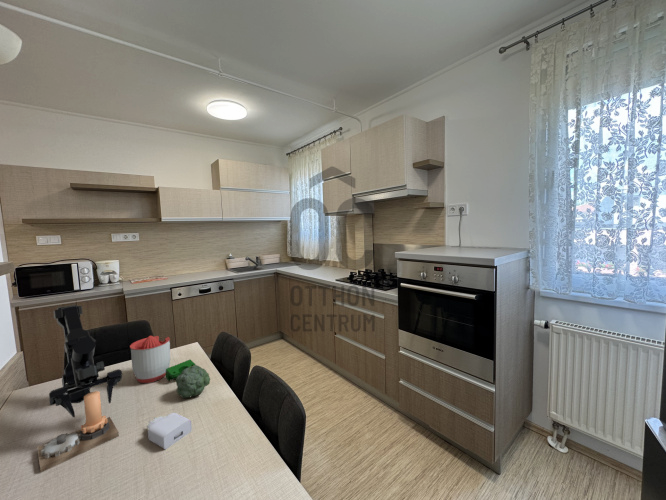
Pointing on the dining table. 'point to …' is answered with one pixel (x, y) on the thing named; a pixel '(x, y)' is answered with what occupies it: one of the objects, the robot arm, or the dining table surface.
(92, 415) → the gear spindle
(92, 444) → the gear board
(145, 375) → the citrus juicer
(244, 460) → the dining table surface
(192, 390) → the vegetable
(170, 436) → the charger
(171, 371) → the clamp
